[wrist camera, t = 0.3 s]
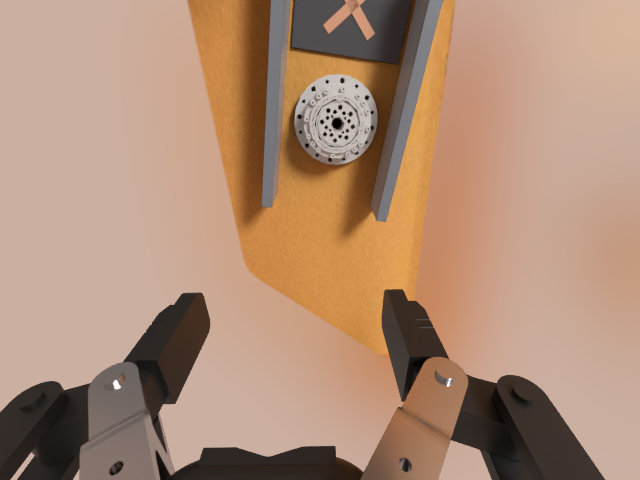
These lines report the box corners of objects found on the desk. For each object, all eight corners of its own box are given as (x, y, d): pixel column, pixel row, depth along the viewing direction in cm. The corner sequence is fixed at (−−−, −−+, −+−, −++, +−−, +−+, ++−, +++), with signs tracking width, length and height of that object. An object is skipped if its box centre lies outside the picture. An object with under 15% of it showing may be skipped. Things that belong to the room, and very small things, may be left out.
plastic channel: (283, -67, 27) (275, -104, 22) (435, -38, 28) (460, -69, 23) (269, 192, 38) (261, 206, 33) (377, 206, 39) (385, 221, 34)
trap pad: (300, -64, 27) (299, -66, 27) (420, -41, 28) (421, -43, 28) (291, 47, 31) (291, 46, 31) (397, 64, 32) (397, 63, 31)
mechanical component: (278, 112, 34) (326, 177, 38) (273, 114, 30) (327, 186, 34) (345, 54, 32) (390, 130, 35) (349, 48, 28) (399, 134, 31)
